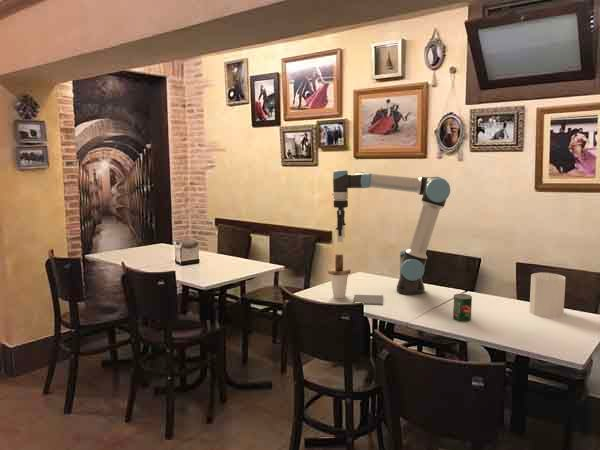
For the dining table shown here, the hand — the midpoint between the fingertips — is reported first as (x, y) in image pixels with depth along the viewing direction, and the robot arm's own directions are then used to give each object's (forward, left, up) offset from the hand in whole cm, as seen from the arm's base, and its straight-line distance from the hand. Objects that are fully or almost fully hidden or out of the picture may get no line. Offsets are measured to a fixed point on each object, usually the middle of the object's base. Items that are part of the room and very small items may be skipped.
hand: (341, 239), depth 269 cm
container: (-98, +18, -31) cm, 104 cm away
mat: (-14, +6, -31) cm, 34 cm away
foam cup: (+1, +1, -31) cm, 31 cm away
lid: (+1, +1, -18) cm, 18 cm away
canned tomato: (-58, +32, -31) cm, 73 cm away
